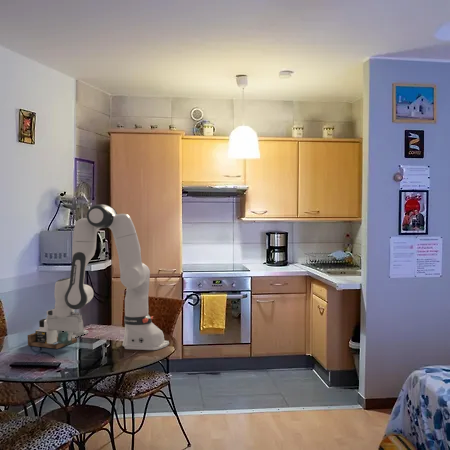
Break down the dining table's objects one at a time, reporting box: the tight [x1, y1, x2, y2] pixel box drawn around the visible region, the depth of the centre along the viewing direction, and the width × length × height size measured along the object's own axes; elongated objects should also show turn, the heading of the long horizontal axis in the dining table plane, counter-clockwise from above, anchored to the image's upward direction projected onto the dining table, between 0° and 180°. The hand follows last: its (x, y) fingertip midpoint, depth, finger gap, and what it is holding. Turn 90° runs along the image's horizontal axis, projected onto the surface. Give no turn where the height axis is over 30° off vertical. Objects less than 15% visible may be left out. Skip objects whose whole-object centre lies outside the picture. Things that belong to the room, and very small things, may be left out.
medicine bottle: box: [34, 318, 58, 344], centre depth 233 cm, size 7×7×12 cm
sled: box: [27, 331, 78, 350], centre depth 232 cm, size 18×14×6 cm
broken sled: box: [57, 326, 89, 338], centre depth 249 cm, size 19×14×4 cm
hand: (65, 339), depth 229 cm, fingers open, 3 cm apart
